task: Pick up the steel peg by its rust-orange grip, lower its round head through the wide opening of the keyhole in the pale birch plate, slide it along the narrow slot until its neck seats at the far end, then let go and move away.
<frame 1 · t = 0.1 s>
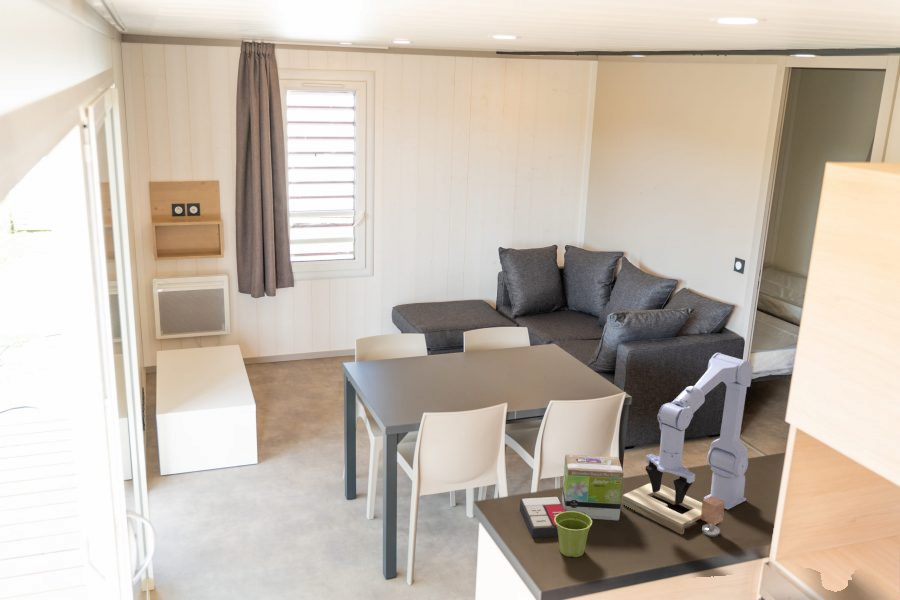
hand: (667, 497, 208), 10 cm above the kitchen counter, tool pointing down, fingers open, 7 cm apart
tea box: (590, 511, 221), on the kitchen counter
keyhole plate: (666, 511, 221), on the kitchen counter
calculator: (545, 524, 215), on the kitchen counter
plant pot: (571, 551, 201), on the kitchen counter
peg: (710, 532, 210), on the kitchen counter
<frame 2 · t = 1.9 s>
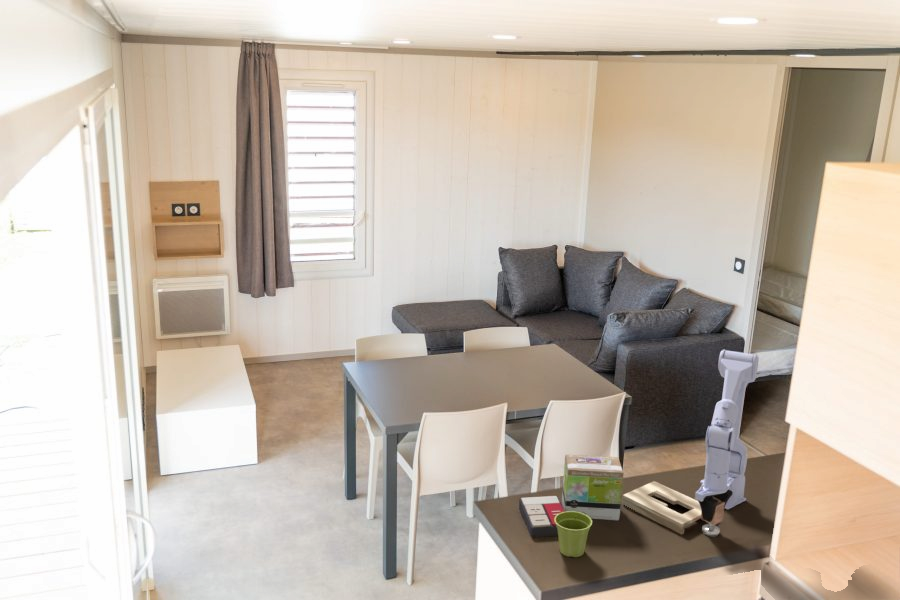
hand: (712, 517, 209), 4 cm above the kitchen counter, tool pointing down, fingers closed on peg, 4 cm apart
peg: (710, 532, 210), on the kitchen counter, touching gripper
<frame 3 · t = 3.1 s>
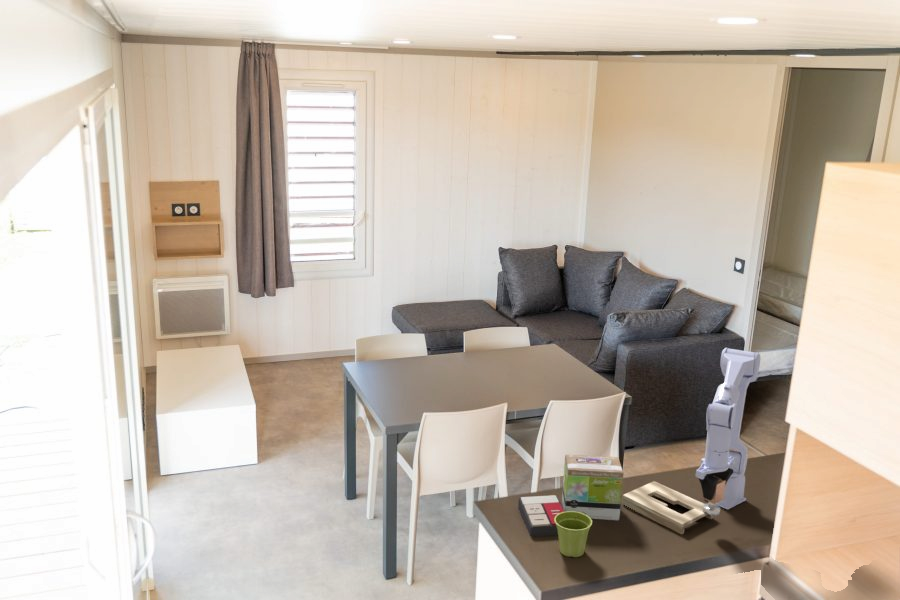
hand: (712, 496, 208), 10 cm above the kitchen counter, tool pointing down, fingers closed on peg, 4 cm apart
peg: (711, 511, 209), point 6 cm above the kitchen counter, touching gripper
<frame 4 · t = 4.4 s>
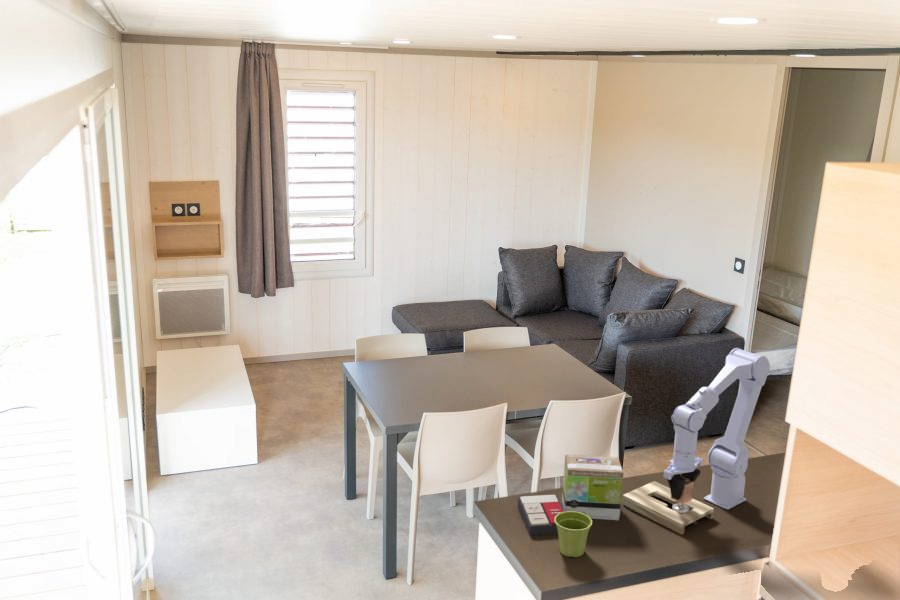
hand: (680, 495, 216), 6 cm above the kitchen counter, tool pointing down, fingers closed on peg, 4 cm apart
peg: (680, 511, 217), point 2 cm above the kitchen counter, touching gripper
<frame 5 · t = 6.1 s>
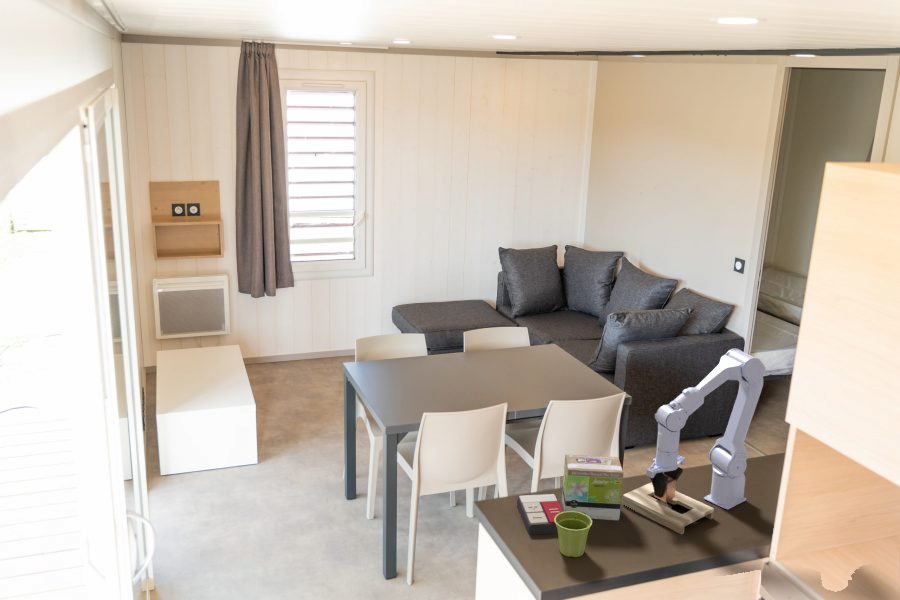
hand: (663, 493, 221), 5 cm above the kitchen counter, tool pointing down, fingers closed on peg, 4 cm apart
peg: (663, 509, 222), on the kitchen counter, touching gripper
when the fingers open (5 cm above the kitchen counter, at t = 7.4 s): peg stays where it is, on the kitchen counter.
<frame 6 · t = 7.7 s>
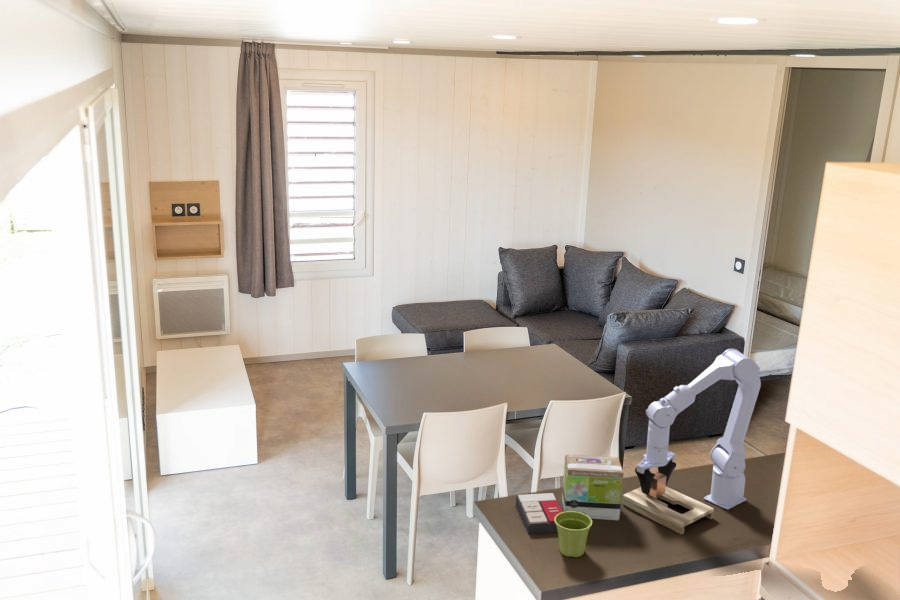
hand: (653, 489, 223), 5 cm above the kitchen counter, tool pointing down, fingers open, 7 cm apart
peg: (653, 505, 224), on the kitchen counter
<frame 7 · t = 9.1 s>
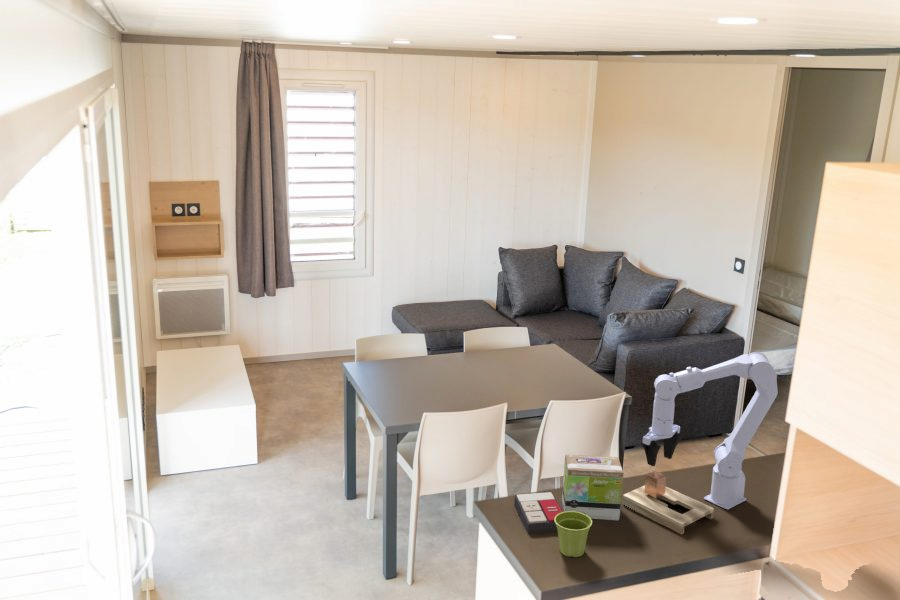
hand: (659, 461, 228), 10 cm above the kitchen counter, tool pointing down, fingers open, 7 cm apart
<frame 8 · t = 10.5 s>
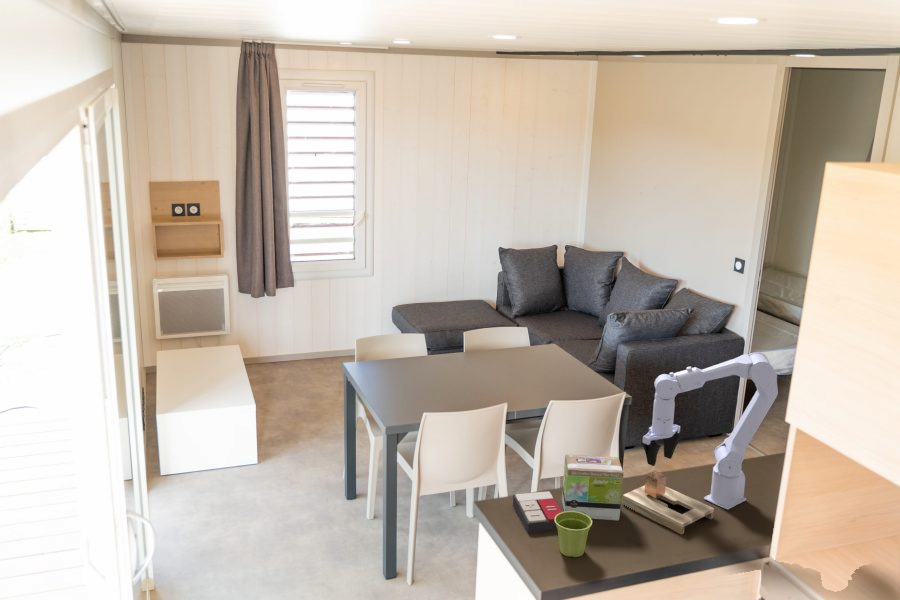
hand: (659, 461, 228), 10 cm above the kitchen counter, tool pointing down, fingers open, 7 cm apart
at the end: peg 0.2 cm from the target spot on the keyhole plate, point 0.0 cm above the keyhole plate's base; peg tilted 0°; the gripper is holding nothing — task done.
